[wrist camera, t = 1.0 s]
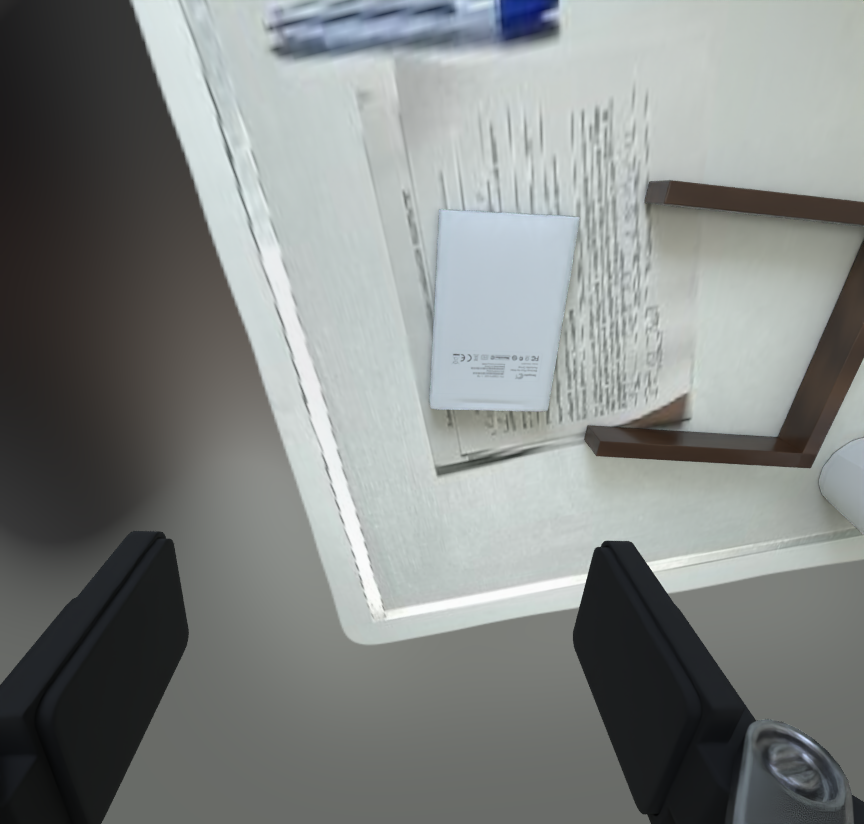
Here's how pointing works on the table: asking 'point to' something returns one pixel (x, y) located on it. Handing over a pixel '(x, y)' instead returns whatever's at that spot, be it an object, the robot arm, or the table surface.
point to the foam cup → (846, 482)
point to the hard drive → (499, 308)
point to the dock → (827, 373)
